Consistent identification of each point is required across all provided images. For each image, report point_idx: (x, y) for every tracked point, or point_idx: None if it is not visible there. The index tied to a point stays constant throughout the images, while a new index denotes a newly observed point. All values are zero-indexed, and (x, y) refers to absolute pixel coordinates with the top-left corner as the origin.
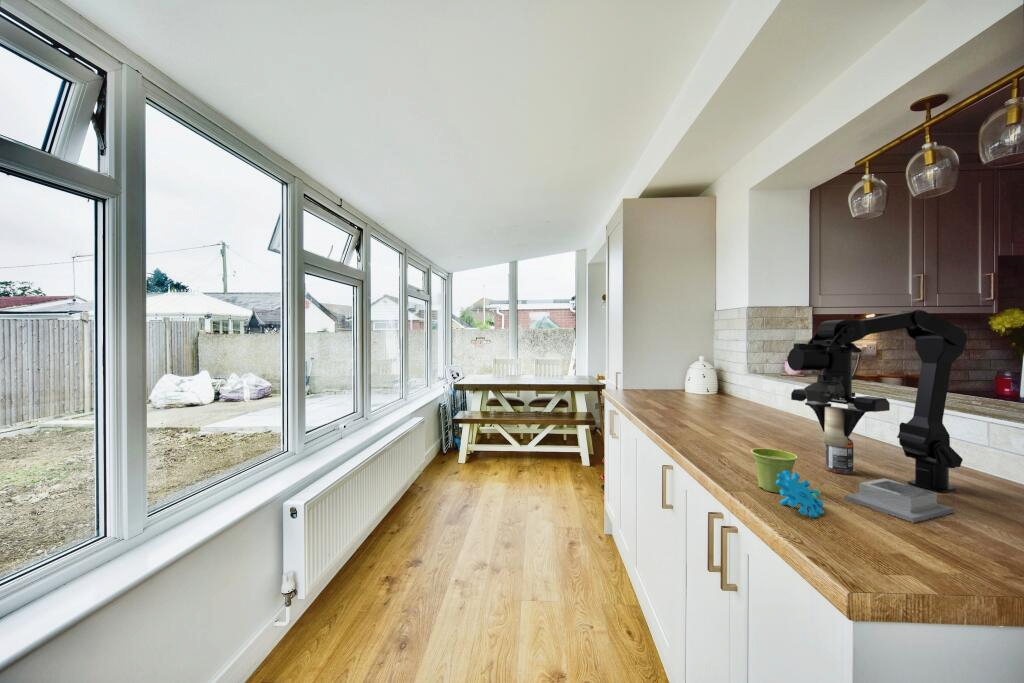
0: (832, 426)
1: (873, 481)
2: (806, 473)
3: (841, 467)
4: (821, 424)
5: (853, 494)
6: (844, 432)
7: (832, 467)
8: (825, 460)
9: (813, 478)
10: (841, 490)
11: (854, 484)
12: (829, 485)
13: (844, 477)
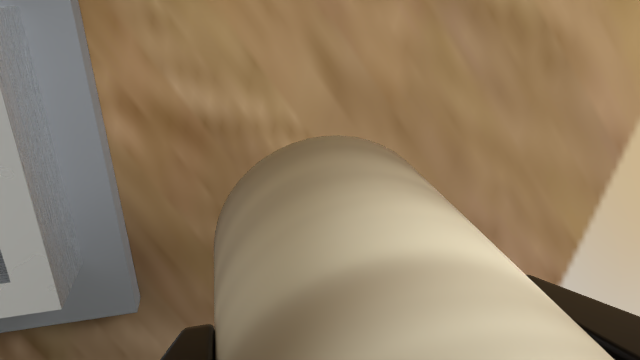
0: (367, 286)
1: (5, 167)
2: (485, 163)
3: None
4: (626, 321)
5: (57, 2)
6: (201, 354)
7: None
8: None
9: (414, 120)
10: (209, 83)
11: None
12: (296, 96)
13: None
